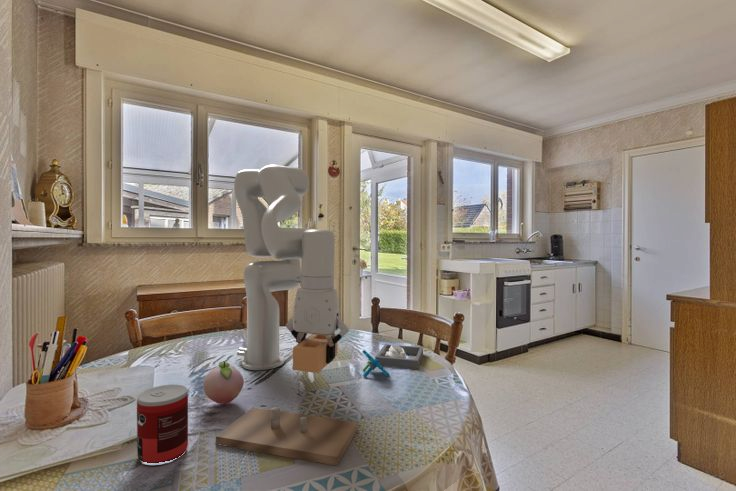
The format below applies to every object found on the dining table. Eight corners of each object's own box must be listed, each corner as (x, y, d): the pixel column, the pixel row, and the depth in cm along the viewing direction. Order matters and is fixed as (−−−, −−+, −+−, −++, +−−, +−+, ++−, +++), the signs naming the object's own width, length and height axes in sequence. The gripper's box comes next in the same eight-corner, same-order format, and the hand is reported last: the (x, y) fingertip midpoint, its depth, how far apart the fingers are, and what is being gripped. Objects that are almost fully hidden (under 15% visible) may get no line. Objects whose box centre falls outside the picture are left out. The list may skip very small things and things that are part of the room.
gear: (395, 376, 96) (368, 350, 95) (380, 394, 95) (353, 368, 94) (386, 367, 107) (362, 344, 106) (372, 383, 105) (348, 360, 105)
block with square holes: (318, 373, 77) (318, 350, 77) (292, 369, 78) (293, 347, 78) (337, 354, 88) (337, 334, 88) (314, 352, 90) (315, 332, 90)
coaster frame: (375, 365, 109) (375, 356, 109) (385, 351, 123) (385, 344, 123) (417, 369, 106) (417, 360, 106) (423, 354, 119) (423, 347, 119)
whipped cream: (392, 357, 120) (391, 342, 120) (410, 359, 116) (410, 343, 117) (381, 362, 113) (380, 346, 113) (400, 364, 109) (399, 348, 110)
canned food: (151, 442, 67) (150, 384, 67) (195, 440, 68) (194, 383, 68) (127, 468, 60) (126, 403, 59) (177, 466, 60) (176, 401, 60)
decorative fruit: (199, 402, 84) (199, 360, 84) (234, 393, 89) (234, 353, 89) (209, 418, 76) (209, 371, 76) (247, 407, 81) (247, 363, 81)
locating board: (215, 444, 67) (215, 417, 67) (252, 414, 78) (252, 391, 78) (337, 465, 61) (337, 436, 60) (357, 429, 72) (357, 404, 72)
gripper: (275, 283, 81) (274, 361, 82) (348, 287, 77) (346, 370, 78) (291, 278, 89) (290, 350, 89) (358, 283, 84) (356, 358, 85)
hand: (316, 359), depth 83 cm, fingers closed on block with square holes, 6 cm apart
